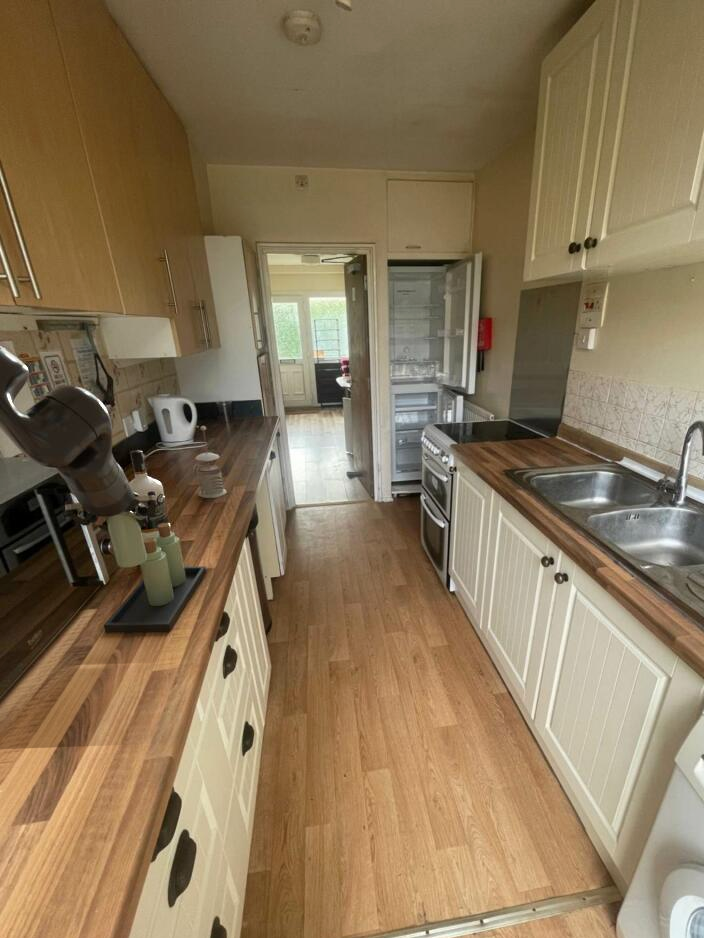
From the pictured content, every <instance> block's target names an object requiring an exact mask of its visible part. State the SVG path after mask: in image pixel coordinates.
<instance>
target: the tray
mask: <svg viewBox="0 0 704 938" xmlns="http://www.w3.org/2000/svg"><path fill="white" fill-rule="evenodd" d="M206 568H207V567H206V566H203V565H202V566H184V569H185V575H186V581H185V582H184V583H183V584H181V585H178V586H175V587H172V588H173V593H174V599H173V600H172V601H171V602H169V603H167V604H165V605H161V606H152V605H150V604H149V602H148V598H147V593H146V589H145V585H144V580H143V579H141V580H140V582H139V583H138V584H137V585H136V586H135V588H134V589H133V590H132V591H131V592H130V594H129V595H128V596H127V597H126V598H125V599H124V601H123V602H122V603H121V604H120V605H119V607H118V608H117V609H116V610H115V611H114V612H113V614H112V615H111V616H110V617H109V618H108V620H107V621H106V622H105V623H104V624H103V628H104V631H105V633H106V634H115V633H116V634H117V633H122V634H123V633H169V632H171V631H172V630H173V628H174V626H175V625H176V623H177V621H178V620H179V618H180V617H181V615H182V614H183V611H185V608H186V607H187V605H188V604H189V602H190V601H191V598H192V597H193V595H194V594H195V592H196V591H197V589H198V588H199V586H200V584H201V583H202V580H203V579H204V577H205V576H206V574H207V569H206Z"/></svg>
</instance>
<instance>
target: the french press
mask: <svg viewBox="0 0 704 938" xmlns="http://www.w3.org/2000/svg"><path fill="white" fill-rule="evenodd" d="M199 430H200V431H202V432H203V433H205V431H206V430H207V427H206V426H205V425H202V426H200V429H199ZM205 435H206V434H203V438H204V440H206V436H205ZM204 444H205V447H207V443H206V441H204ZM205 451H206V452H203V453H200V454H198V455H197V456H196V457H195V460H196V461H197V462H201V464H198V463H196V464H195V465H194V467H193V469H192V477H193V480H194V481H195V482H196V483H197V484H199V489H200V491H199V493H198V496H199V497H201V498H204V499H205V498H206V499H212V498H219V497H222V496H224V495H226V494H227V490H226V489H225V488H224V484H223V476H222V475H223V474H222V470H221V469H220V466H219V465H216V464H214V465H213V464H212V465H210V463H209V462H212V461H213V462H214V461H217V460H218V459H220V456H219V454H218V453H213V452H208V449H207V448H205ZM202 462H203V463H205V462H207V465H203V464H202ZM196 466H197V469H196V473H195V468H196ZM195 475H196V478H195ZM196 480H197V481H196Z"/></svg>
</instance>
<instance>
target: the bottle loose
mask: <svg viewBox="0 0 704 938" xmlns="http://www.w3.org/2000/svg"><path fill="white" fill-rule="evenodd" d="M106 524H107V527H108V531H107V532H108V535H109V538H110V539H109V540H110V542H111V547H112V550H113V555H114V558H115V562H116V565H117V566H118V567H120V568H132V567H136V566H140V564H142V563H143V562H145V561H146V560H147V554H146V550H145V545H144V541H143V537H142V532H141V528H140V524H139V523H138V521H137V519H136V518H129V517H127V516H125V515H114V516H110V517H107V518H106Z"/></svg>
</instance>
